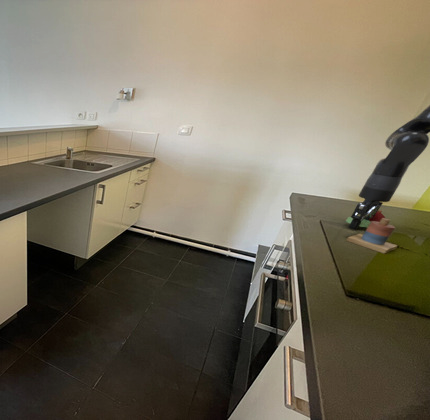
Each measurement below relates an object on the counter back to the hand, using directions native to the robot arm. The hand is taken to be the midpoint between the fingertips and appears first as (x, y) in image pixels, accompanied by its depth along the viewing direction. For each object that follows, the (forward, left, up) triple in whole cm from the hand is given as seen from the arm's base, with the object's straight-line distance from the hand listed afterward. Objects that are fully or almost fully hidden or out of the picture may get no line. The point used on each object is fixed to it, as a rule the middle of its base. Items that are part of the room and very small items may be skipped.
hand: (356, 227), depth 97 cm
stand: (+13, +8, -1) cm, 15 cm away
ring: (0, 0, +1) cm, 1 cm away
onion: (-9, +1, -1) cm, 9 cm away
